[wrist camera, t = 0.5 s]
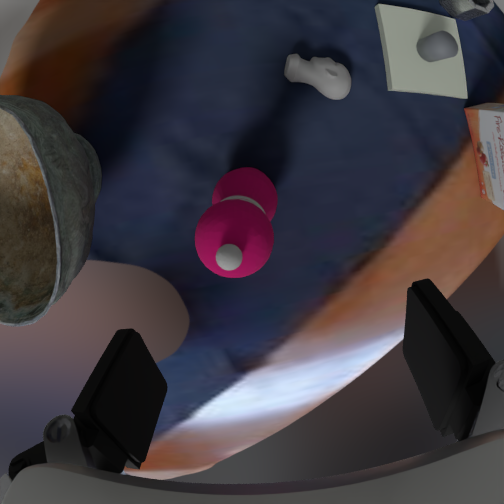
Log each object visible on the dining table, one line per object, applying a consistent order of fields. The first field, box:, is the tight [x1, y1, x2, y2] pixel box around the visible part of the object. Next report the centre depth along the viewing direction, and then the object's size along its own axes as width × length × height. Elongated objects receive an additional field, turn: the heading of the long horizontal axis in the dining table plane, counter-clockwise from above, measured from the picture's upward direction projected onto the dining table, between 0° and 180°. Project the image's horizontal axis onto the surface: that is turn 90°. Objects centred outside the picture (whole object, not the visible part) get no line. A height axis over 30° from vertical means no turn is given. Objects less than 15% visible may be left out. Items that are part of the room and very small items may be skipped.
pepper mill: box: [195, 167, 277, 278], centre depth 29 cm, size 7×7×20 cm
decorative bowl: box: [0, 95, 102, 326], centre depth 29 cm, size 26×26×20 cm
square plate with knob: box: [375, 4, 468, 99], centre depth 25 cm, size 12×12×6 cm
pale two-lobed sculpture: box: [284, 54, 351, 100], centre depth 30 cm, size 4×8×5 cm
